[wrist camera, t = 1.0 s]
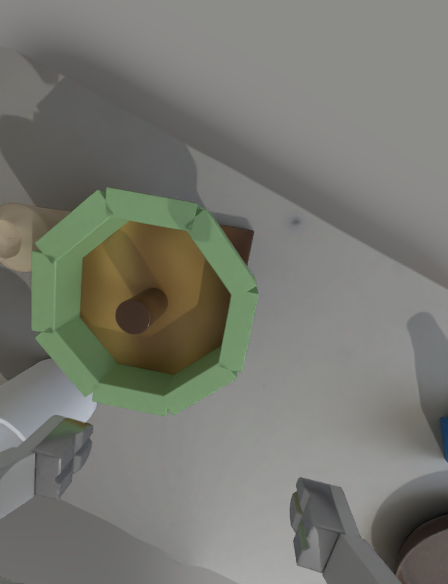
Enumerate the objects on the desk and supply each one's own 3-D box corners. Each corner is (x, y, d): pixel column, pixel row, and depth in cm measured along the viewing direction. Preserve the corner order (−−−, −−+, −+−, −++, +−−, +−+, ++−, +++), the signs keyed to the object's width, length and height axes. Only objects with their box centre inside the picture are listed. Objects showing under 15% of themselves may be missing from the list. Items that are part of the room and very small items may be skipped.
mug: (35, 345, 32) (-58, 394, 22) (107, 374, 32) (46, 435, 22) (17, 421, 35) (-72, 495, 25) (84, 447, 35) (21, 531, 25)
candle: (50, 232, 29) (-48, 230, 19) (83, 203, 28) (-2, 184, 18) (81, 271, 30) (2, 287, 20) (115, 243, 29) (49, 247, 19)
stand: (253, 231, 27) (263, 225, 15) (230, 350, 30) (220, 431, 18) (126, 208, 28) (28, 183, 15) (116, 327, 31) (28, 390, 18)
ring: (270, 220, 18) (275, 217, 15) (231, 404, 22) (229, 430, 19) (63, 183, 19) (30, 173, 16) (58, 369, 22) (30, 389, 19)
